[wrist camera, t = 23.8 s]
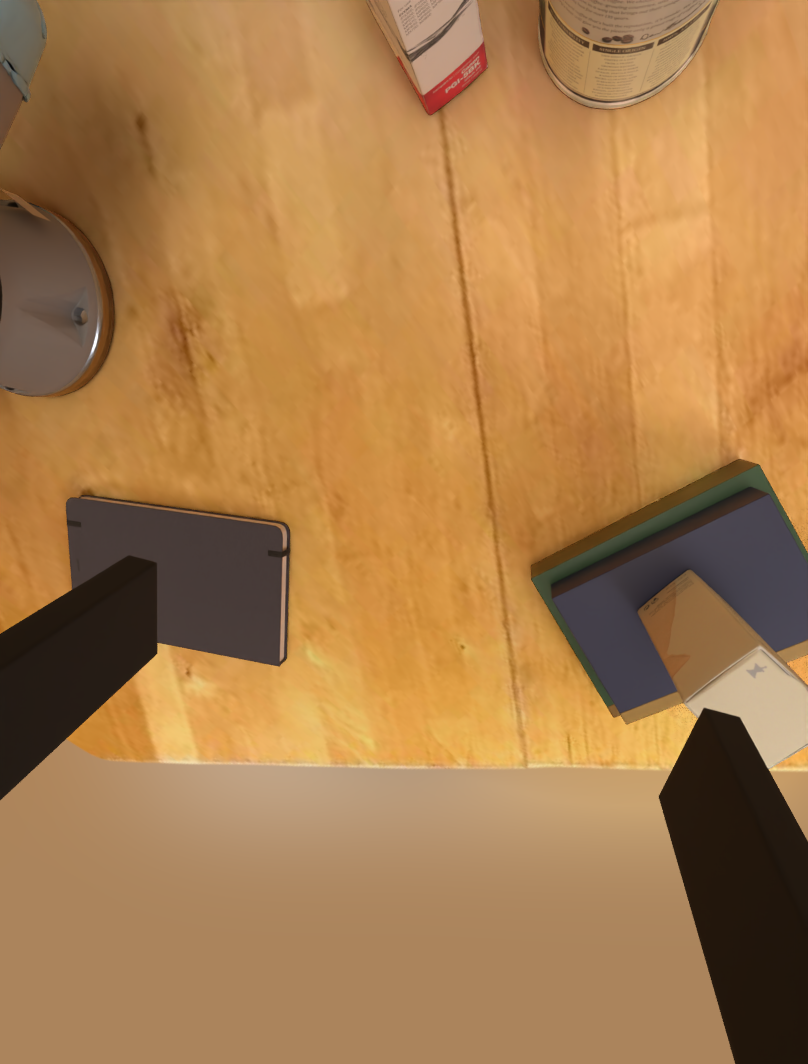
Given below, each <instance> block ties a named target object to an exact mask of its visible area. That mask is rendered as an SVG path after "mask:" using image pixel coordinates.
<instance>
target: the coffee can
mask: <svg viewBox="0 0 808 1064" xmlns="http://www.w3.org/2000/svg"><path fill="white" fill-rule="evenodd" d="M719 1H720V0H539V19H538V41H539V47H540V52H541V57H542V60H543V63H544V66H545V68H546V71H547V73H548V74H549V76H550V77H551V79H552V80H553V82H554V83H555V85H556V86H557V87H558V88H559V89H560V90H561V91H562V92H563V93H564V94H566V95H567V96H568V97H570V98H571V99H573V100H575V101H576V102H578V103H580V104H583V105H585V106H587V107H592V108H602V109H616V108H623V107H627V106H630V105H633V104H636V103H639V102H641V101H644V100H645V99H647V98H649V97H651V96H653V95H656V94H657V93H658V92H660V91H661V90H662V89H663V88H665V87H666V86H667V85H669V84H670V83H671V82H672V81H673V80H674V79H675V78H676V77H677V76H678V75H679V74H680V73H681V72H682V71H683V70H684V69H685V68H686V67H687V65H688V64H689V63H690V61H691V60H692V59H693V57H694V56H695V54H696V52H697V51H698V49H699V47H700V46H701V44H702V42H703V40H704V38H705V36H706V34H707V31H708V27H709V25H710V22H711V19H712V16H713V14H714V12H715V10H716V7H717V5H718V3H719Z"/></svg>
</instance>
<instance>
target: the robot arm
mask: <svg viewBox="0 0 808 1064" xmlns="http://www.w3.org/2000/svg"><path fill="white" fill-rule="evenodd" d="M46 39H47V28H46V23H45V19H44V16H43V12H42V10H41V8H40V6H39V4H38V2H37V0H0V149H1V147H2V145H3V142H4V140H5V138H6V136H7V134H8V131H9V129H10V127H11V125H12V123H13V121H14V118H15V116H16V114H17V112H18V110H19V107H20V105H21V103H22V101H23V100H24V101H25V102H28V101H29V99H30V96H31V93H30V89H29V86H30V84H31V81H32V78H33V76H34V73H35V71H36V68H37V66H38V63H39V61H40V58H41V55H42V53H43V50H44V48H45V45H46ZM0 189H1V188H0ZM1 190H2V191H4V192H5V193H6V194H7V195H9V196H10V197H11V198H13V199H14V200H0V388H2V389H4V390H7V391H10V392H13V393H16V394H19V395H24V396H39V397H53V396H61V395H65V394H69V393H71V392H74V391H76V390H77V389H79V388H81V387H82V386H84V385H85V384H86V383H87V382H89V381H90V380H91V379H92V378H93V376H94V375H95V374H96V373H97V371H98V370H99V368H100V367H101V365H102V363H103V361H104V360H105V358H106V355H107V352H108V350H109V347H110V343H111V339H112V334H113V325H114V305H113V297H112V292H111V287H110V283H109V280H108V276H107V273H106V271H105V268H104V266H103V264H102V261H101V259H100V257H99V256H98V254H97V252H96V250H95V249H94V247H93V246H92V244H91V243H90V241H89V240H88V239H87V238H86V237H85V235H84V234H83V233H82V232H81V231H80V230H79V229H78V228H77V227H76V226H74V225H73V224H72V223H71V222H70V221H68V220H67V219H65V218H64V217H62V216H60V215H58V214H56V213H54V212H52V211H49V210H47V209H44V208H41V207H39V206H36V205H34V204H31V203H28V202H26V201H25V200H23V199H22V198H21V197H19V196H18V195H16V194H13V193H11V192H8V191H6V190H3V189H1ZM156 654H157V562H153V561H150V560H146V559H142V558H138V557H134V556H131V555H128V556H126V557H125V558H123V559H121V560H120V561H118V562H117V563H115V564H113V565H112V566H110V567H108V568H107V569H105V570H104V571H102V572H100V573H99V574H97V575H95V576H94V577H92V578H90V579H89V580H87V581H86V582H84V583H82V584H81V585H79V586H77V587H76V588H74V589H73V590H71V591H69V592H68V593H66V594H64V595H63V596H61V597H60V598H58V599H56V600H55V601H53V602H51V603H50V604H48V605H47V606H45V607H43V608H42V609H40V610H38V611H37V612H35V613H33V614H32V615H30V616H29V617H27V618H25V619H24V620H22V621H20V622H19V623H17V624H16V625H14V626H12V627H11V628H9V629H7V630H6V631H4V632H3V633H1V634H0V800H1V799H2V798H3V797H4V796H5V795H6V794H8V792H10V791H11V790H12V789H13V788H14V787H15V786H16V785H17V784H18V783H19V782H20V781H21V780H22V779H24V777H26V776H27V775H28V774H29V773H30V772H31V771H32V770H33V769H34V768H35V767H36V766H37V765H39V763H41V762H42V761H43V760H44V759H45V758H46V757H47V756H48V755H49V754H50V753H51V752H53V750H55V749H56V748H57V747H58V746H59V745H60V744H61V743H62V742H63V741H64V740H65V739H66V738H67V737H69V736H70V735H71V734H72V733H73V732H74V731H75V730H76V729H77V728H78V727H79V726H80V725H81V724H82V723H84V722H85V721H86V720H87V719H88V718H89V717H90V716H91V715H92V714H93V713H94V712H95V711H96V710H97V709H99V708H100V707H101V706H102V705H103V704H104V703H105V702H106V701H107V700H108V699H109V698H110V697H111V696H112V695H114V694H115V693H116V692H117V691H118V690H119V689H120V688H121V687H122V686H123V685H124V684H125V683H126V682H127V681H129V680H130V679H131V678H132V677H133V676H134V675H135V674H136V673H137V672H138V671H139V670H140V669H141V668H142V667H144V666H145V665H146V664H147V663H148V662H149V661H150V660H151V659H152V658H153V657H154V656H155V655H156ZM659 799H660V803H661V806H662V810H663V813H664V817H665V820H666V824H667V827H668V830H669V834H670V838H671V841H672V845H673V848H674V852H675V855H676V859H677V862H678V866H679V869H680V873H681V876H682V879H683V883H684V886H685V890H686V894H687V897H688V900H689V904H690V907H691V911H692V914H693V918H694V921H695V925H696V928H697V932H698V935H699V939H700V942H701V946H702V949H703V953H704V956H705V960H706V963H707V966H708V970H709V974H710V977H711V980H712V984H713V987H714V991H715V995H716V998H717V1001H718V1005H719V1009H720V1012H721V1015H722V1019H723V1022H724V1026H725V1029H726V1033H727V1036H728V1040H729V1043H730V1047H731V1050H732V1054H733V1057H734V1060H735V1064H808V841H807V839H806V838H805V836H804V834H803V832H802V830H801V828H800V826H799V825H798V823H797V821H796V819H795V817H794V816H793V814H792V812H791V810H790V808H789V806H788V805H787V803H786V801H785V799H784V797H783V795H782V793H781V792H780V790H779V788H778V786H777V784H776V783H775V781H774V779H773V777H772V775H771V773H770V771H769V770H768V768H767V766H766V764H765V762H764V760H763V759H762V757H761V755H760V753H759V751H758V749H757V748H756V746H755V744H754V742H753V740H752V738H751V737H750V735H749V733H748V731H747V729H746V727H745V726H744V724H743V722H742V720H741V718H740V717H738V716H734V715H730V714H727V713H723V712H719V711H715V710H712V709H708V708H703V710H702V712H701V714H700V716H699V718H698V720H697V722H696V724H695V726H694V728H693V730H692V732H691V734H690V736H689V738H688V740H687V742H686V744H685V746H684V748H683V750H682V751H681V753H680V755H679V757H678V759H677V761H676V763H675V765H674V767H673V769H672V771H671V773H670V775H669V777H668V779H667V781H666V783H665V785H664V787H663V789H662V791H661V793H660V795H659Z"/></svg>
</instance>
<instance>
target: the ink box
mask: <svg viewBox="0 0 808 1064" xmlns="http://www.w3.org/2000/svg"><path fill="white" fill-rule="evenodd" d="M366 1H367V4H368V6H369V8H370V10H371V12H372V13H373V15H374V17H375V19H376V21H377V23H378V25H379V26H380V28H381V30H382V32H383V34H384V35H385V37H386V39H387V41H388V43H389V45H390V46H391V48H392V50H393V52H394V54H395V55H396V57H397V59H398V61H399V63H400V64H401V66H402V68H403V70H404V71H405V73H406V75H407V77H408V79H409V80H410V82H411V84H412V86H413V88H414V90H415V91H416V93H417V95H418V97H419V99H420V101H421V103H422V104H423V106H424V108H425V110H426V112H427V113H428V114H429V115H432V114H433V113H434V112H436V111H437V110H439V109H440V108H441V107H442V106H444V105H445V104H446V103H448V102H449V101H450V100H451V99H453V98H454V97H455V96H456V95H457V94H459V93H460V92H461V91H462V90H463V89H465V88H466V87H467V86H468V85H469V84H470V83H471V82H473V81H474V80H475V79H476V78H477V77H478V76H479V75H480V74H481V73H482V72H483V71H484V70H485V69H486V68H487V67H488V64H487V59H486V53H485V46H484V40H483V34H482V28H481V21H480V15H479V8H478V2H477V0H366Z"/></svg>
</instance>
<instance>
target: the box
mask: <svg viewBox="0 0 808 1064" xmlns="http://www.w3.org/2000/svg"><path fill="white" fill-rule="evenodd" d="M638 615H639V617H640V619H641V621H642V623H643V624H644V626H645V628H646V630H647V632H648V634H649V636H650V638H651V640H652V642H653V644H654V646H655V648H656V650H657V651H658V653H659V655H660V657H661V659H662V661H663V663H664V665H665V667H666V669H667V671H668V673H669V675H670V677H671V679H672V681H673V683H674V685H675V687H676V689H677V691H678V693H679V694H680V696H681V699H682V701H683V703H684V704H685V706H686V707H687V708H688V709H689V710H690V711H691V712H692V713H693V714H694V715H695V716H696V717H697V718H699V716H700V714H701V712H702V710H703V708H708V709H712V710H715V711H719V712H723V713H727V714H730V715H734V716H738V717H740V718H741V720H742V722H743V724H744V726H745V727H746V729H747V731H748V733H749V735H750V737H751V738H752V740H753V742H754V744H755V746H756V748H757V749H758V751H759V753H760V755H761V757H762V759H763V760H764V762H765V764H766V766H767V768H768V769H770V768H772V767H773V766H775V765H777V764H778V763H780V762H782V761H783V760H785V759H787V758H789V757H791V756H792V755H794V754H795V753H797V752H799V751H800V750H802V749H804V748H805V747H807V746H808V685H807V684H806V683H805V682H804V681H803V680H802V679H801V678H800V677H799V676H798V675H797V674H796V673H795V672H794V671H793V670H792V669H791V668H790V667H789V665H788V664H787V663H786V662H785V661H784V660H783V659H782V658H781V657H780V656H779V655H778V654H777V653H776V652H775V651H774V650H773V649H772V648H771V647H770V646H769V645H768V644H767V643H766V642H765V641H764V640H763V639H762V638H761V637H760V636H759V635H758V634H757V633H756V632H755V631H754V630H753V629H752V627H751V626H750V625H749V624H748V623H747V622H746V621H745V620H744V619H743V618H742V617H741V616H740V615H739V614H738V613H737V612H736V611H735V610H734V609H733V608H732V607H731V606H730V605H729V604H728V603H727V602H726V601H725V600H724V599H722V598H721V597H720V596H719V595H718V594H717V593H716V592H715V591H714V590H713V589H712V588H711V587H710V586H708V585H707V584H706V583H705V582H704V581H703V580H702V579H701V578H700V577H698V576H697V575H696V574H695V573H694V572H693V571H692V570H687V571H686V572H684V573H683V574H682V575H680V576H679V577H678V578H676V579H675V580H674V581H673V582H671V583H670V584H669V585H667V586H666V587H665V588H664V589H662V590H661V591H660V592H659V593H657V594H656V595H655V596H654V597H653V598H652V599H650V600H649V601H648V602H647V603H646V604H645V605H643V606H642V607H641V608H640V609H639V610H638Z"/></svg>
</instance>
